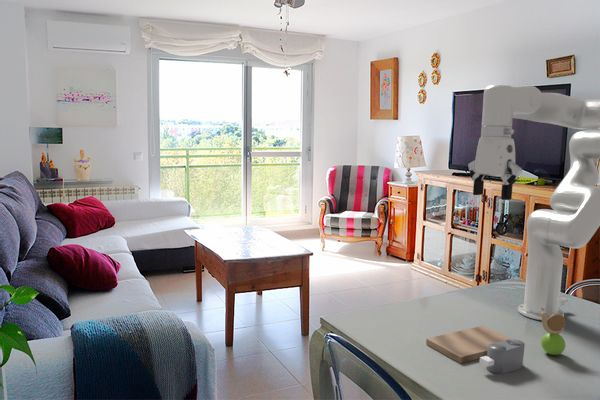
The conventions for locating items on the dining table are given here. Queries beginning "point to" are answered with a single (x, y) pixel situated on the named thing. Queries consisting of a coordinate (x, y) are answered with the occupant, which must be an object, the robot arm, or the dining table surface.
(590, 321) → the dining table surface
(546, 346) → the snail figurine
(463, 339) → the walnut board
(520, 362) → the block
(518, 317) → the dining table surface
